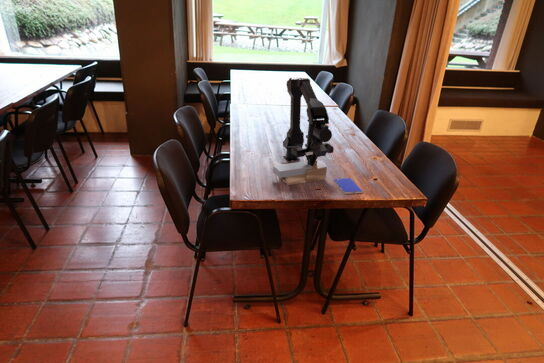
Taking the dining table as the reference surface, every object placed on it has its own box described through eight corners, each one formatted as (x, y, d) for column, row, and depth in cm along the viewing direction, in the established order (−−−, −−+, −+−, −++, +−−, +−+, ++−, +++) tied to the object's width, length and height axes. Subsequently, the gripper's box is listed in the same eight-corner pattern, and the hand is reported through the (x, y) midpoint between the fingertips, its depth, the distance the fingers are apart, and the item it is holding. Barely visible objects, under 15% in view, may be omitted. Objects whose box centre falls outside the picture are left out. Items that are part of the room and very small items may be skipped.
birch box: (278, 176, 164) (279, 164, 161) (315, 171, 171) (316, 160, 169) (287, 185, 157) (288, 172, 154) (325, 179, 164) (327, 167, 162)
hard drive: (333, 178, 163) (344, 191, 152) (350, 177, 165) (362, 190, 154) (333, 181, 164) (344, 195, 153) (350, 181, 165) (362, 193, 155)
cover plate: (272, 171, 160) (273, 165, 158) (304, 167, 166) (305, 161, 165) (279, 177, 154) (279, 171, 153) (311, 173, 161) (312, 166, 160)
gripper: (304, 142, 147) (301, 177, 153) (343, 138, 154) (338, 172, 161) (291, 134, 156) (289, 167, 162) (328, 130, 163) (324, 162, 170)
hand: (310, 167), depth 164 cm, fingers closed
